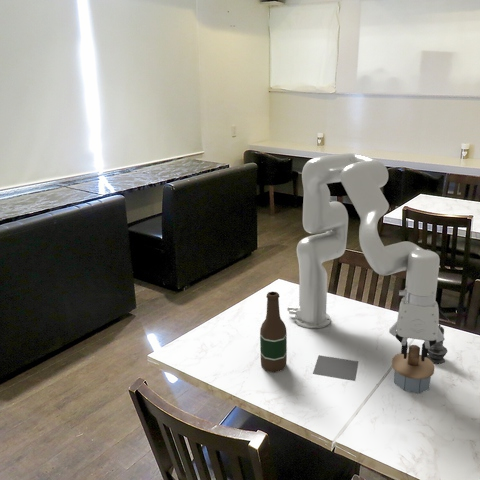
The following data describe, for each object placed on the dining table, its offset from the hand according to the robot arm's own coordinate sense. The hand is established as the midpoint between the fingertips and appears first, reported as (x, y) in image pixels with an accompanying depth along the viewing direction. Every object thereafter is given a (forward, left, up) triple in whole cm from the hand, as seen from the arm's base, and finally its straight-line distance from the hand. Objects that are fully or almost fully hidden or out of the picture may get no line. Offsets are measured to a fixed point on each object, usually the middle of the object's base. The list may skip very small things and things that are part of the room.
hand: (413, 356), depth 125 cm
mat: (-21, +1, -8) cm, 23 cm away
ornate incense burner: (+7, +14, -8) cm, 18 cm away
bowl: (0, 0, -8) cm, 8 cm away
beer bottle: (-39, -3, -8) cm, 40 cm away
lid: (0, 0, -3) cm, 3 cm away
